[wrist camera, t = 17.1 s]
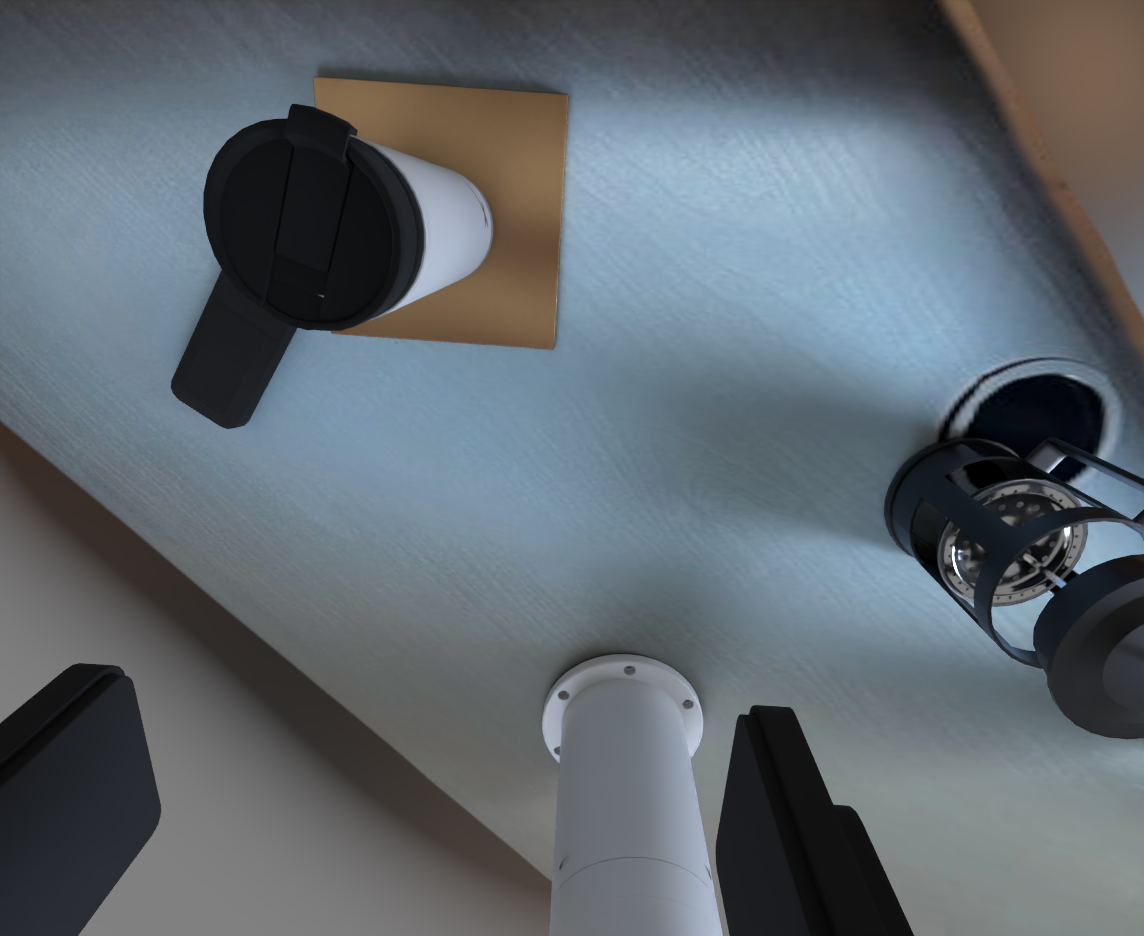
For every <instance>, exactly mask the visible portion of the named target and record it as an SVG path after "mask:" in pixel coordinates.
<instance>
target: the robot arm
mask: <svg viewBox="0 0 1144 936" xmlns="http://www.w3.org/2000/svg"><path fill="white" fill-rule="evenodd" d="M542 730H543V736H544V740H545V742H546V745H547V747H548V749H549V751H550V753H551V754H552V755H553V757H554V758H555V759H556V761H557V762H558V763H559V777H558V795H557V812H556V829H555V846H554V863H553V880H552V898H551V917H550V936H723V935H722V930H721V924H720V919H719V914H718V908H717V903H716V897H715V892H714V886H713V881H712V875H711V870H710V865H709V859H708V854H707V848H706V843H705V837H704V832H703V826H702V821H701V815H700V810H699V804H698V799H697V793H696V788H695V783H694V777H693V772H692V766H691V761H690V758H691V757H692V756H693V755H694V753H695V751H696V749H697V748H698V746H699V744H700V740H701V737H702V734H703V716H702V710H701V706H700V703H699V699H698V696H697V694H696V693H695V691H694V689H693V688H692V686H691V684H690V683H689V682H688V681H687V680H686V679H685V678H684V677H683V676H682V675H681V674H680V673H678V672H677V671H676V670H674V669H673V668H671V667H670V666H668V665H666V664H664V663H662V662H660V661H657V660H655V659H651V658H648V657H644V656H639V655H630V654H615V655H606V656H602V657H597V658H593V659H591V660H588V661H585V662H583V663H580V664H579V665H577V666H575V667H574V668H572V669H570V670H569V671H567V672H566V673H565V674H564V675H563V676H562V677H561V678H559V679H558V680H557V682H556V683H555V684H554V686H553V687H552V688H551V690H550V692H549V694H548V696H547V698H546V701H545V704H544V709H543V717H542ZM160 814H161V804H160V799H159V795H158V791H157V787H156V782H155V777H154V773H153V768H152V764H151V760H150V755H149V751H148V746H147V742H146V738H145V733H144V728H143V724H142V720H141V715H140V710H139V706H138V702H137V697H136V693H135V688H134V684H133V681H132V679H131V678H129V677H127V676H125V674H124V671H123V670H122V669H121V668H120V667H118V666H114V665H99V664H82V663H79V664H75V665H72V666H70V667H69V668H68V669H66V670H65V671H63V672H62V673H61V674H60V675H58V676H57V677H56V678H55V679H54V680H52V681H51V682H50V683H49V684H48V685H46V686H45V687H44V688H43V689H41V690H40V691H39V692H38V693H37V694H35V695H34V696H33V697H32V698H30V699H29V700H28V701H27V702H26V703H24V704H23V705H22V706H21V707H20V708H18V709H17V710H16V711H15V712H14V713H12V714H11V715H10V716H9V717H7V718H6V719H5V720H4V721H2V722H1V723H0V936H78V935H79V933H80V932H81V931H82V929H83V928H84V927H85V925H86V924H87V923H88V921H89V920H90V919H91V917H92V916H93V915H94V913H95V912H96V910H97V909H98V908H99V906H100V905H101V904H102V902H103V901H104V899H105V898H106V897H107V896H108V894H109V893H110V891H111V890H112V889H113V887H114V886H115V885H116V883H117V882H118V881H119V879H120V878H121V877H122V875H123V874H124V872H125V871H126V870H127V868H128V867H129V866H130V864H131V863H132V862H133V860H134V859H135V857H136V856H137V855H138V853H139V852H140V851H141V849H142V848H143V847H144V845H145V844H146V843H147V841H148V840H149V838H150V837H151V836H152V834H153V833H154V831H155V829H156V827H157V825H158V822H159V819H160ZM716 866H717V873H718V878H719V883H720V888H721V893H722V898H723V904H724V909H725V914H726V919H727V924H728V929H729V934H730V936H914V934H913V932H912V930H911V928H910V926H909V924H908V921H907V919H906V917H905V915H904V913H903V910H902V908H901V906H900V904H899V902H898V899H897V897H896V895H895V893H894V891H893V889H892V886H891V884H890V882H889V880H888V878H887V875H886V873H885V871H884V869H883V867H882V864H881V862H880V860H879V858H878V856H877V854H876V851H875V849H874V847H873V845H872V843H871V840H870V838H869V836H868V834H867V832H866V829H865V827H864V825H863V823H862V821H861V819H860V818H859V816H858V814H857V812H856V811H855V810H854V809H853V808H852V807H850V806H844V805H833V803H832V800H831V798H830V796H829V793H828V791H827V789H826V786H825V784H824V781H823V779H822V777H821V774H820V772H819V770H818V767H817V765H816V762H815V760H814V758H813V755H812V753H811V750H810V748H809V746H808V743H807V741H806V739H805V736H804V734H803V731H802V729H801V727H800V724H799V722H798V720H797V717H796V715H795V713H794V711H793V709H791V708H790V707H777V706H760V705H754V706H752V707H751V709H750V713H749V715H744V714H740V715H739V716H738V719H737V723H736V729H735V735H734V741H733V747H732V753H731V758H730V764H729V770H728V776H727V782H726V788H725V794H724V799H723V805H722V811H721V817H720V823H719V829H718V835H717V840H716Z"/></svg>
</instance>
